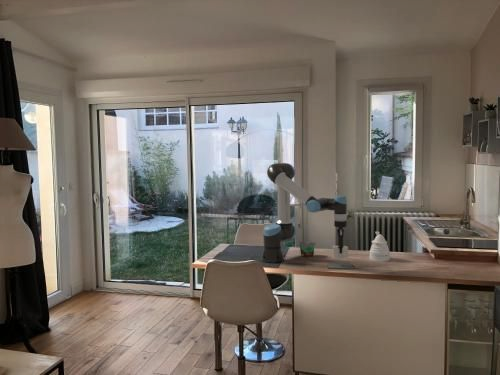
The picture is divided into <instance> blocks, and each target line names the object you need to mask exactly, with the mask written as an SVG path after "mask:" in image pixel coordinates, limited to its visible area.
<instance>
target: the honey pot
mask: <svg viewBox="0 0 500 375" xmlns="http://www.w3.org/2000/svg"><path fill="white" fill-rule="evenodd" d="M375 235H376V236H375V238H374V239H373V240H371V243H372V244H371V246H370V249H369V259H370V260H371V261H375V262H387V261H388V260H389V261H390V258H391V257H390V256H391V254H390V252H391V251H390V249H389V246H388V241H387V240H386V239H385V237H384V235H382V234H381V233H380V231H375Z"/></svg>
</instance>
